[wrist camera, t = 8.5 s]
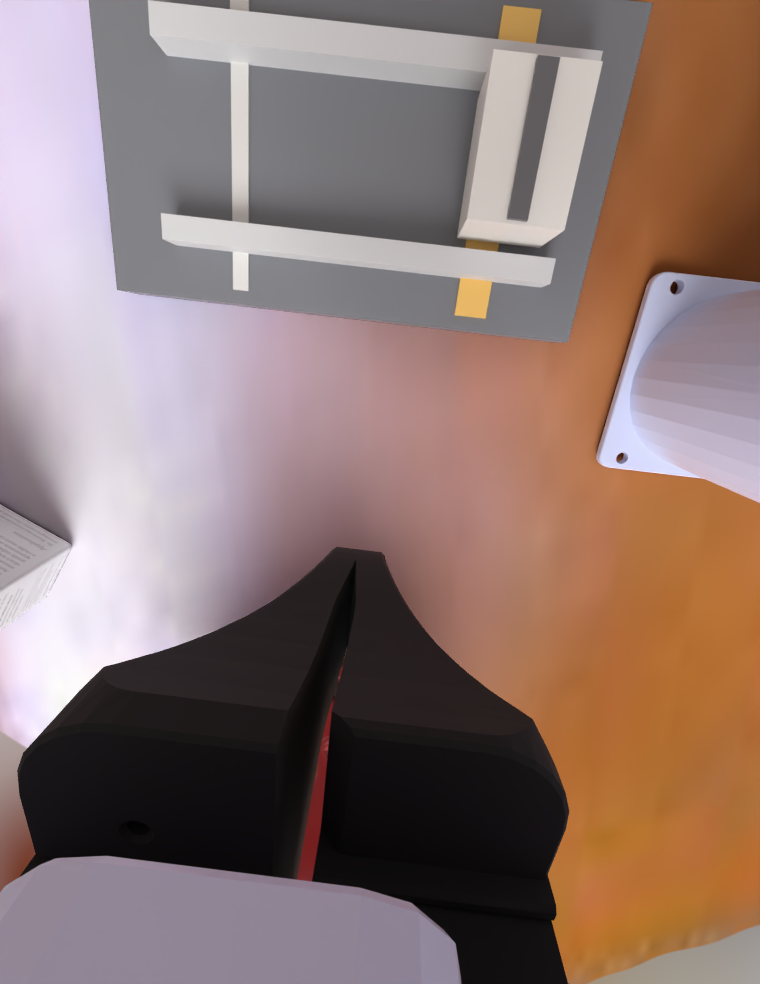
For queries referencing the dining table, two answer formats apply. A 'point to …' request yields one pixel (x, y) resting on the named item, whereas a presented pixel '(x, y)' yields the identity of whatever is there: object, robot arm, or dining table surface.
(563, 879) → the dining table surface
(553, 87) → the fader tab
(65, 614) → the dining table surface
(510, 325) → the board
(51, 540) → the skincare box
